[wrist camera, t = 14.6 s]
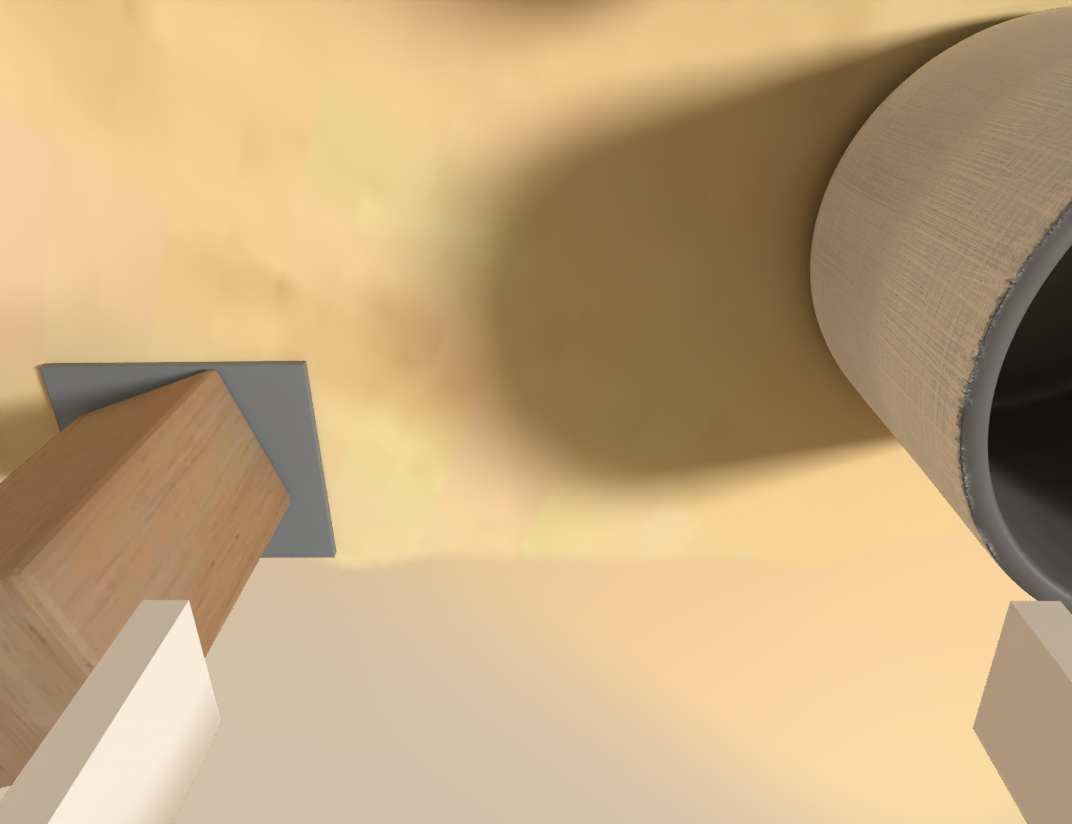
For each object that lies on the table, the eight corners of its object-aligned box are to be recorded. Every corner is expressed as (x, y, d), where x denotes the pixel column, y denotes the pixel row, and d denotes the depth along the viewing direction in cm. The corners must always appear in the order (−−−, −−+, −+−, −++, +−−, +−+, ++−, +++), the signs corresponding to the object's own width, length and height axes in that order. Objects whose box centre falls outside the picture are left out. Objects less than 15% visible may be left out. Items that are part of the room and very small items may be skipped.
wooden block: (163, 540, 55) (-32, 801, 37) (77, 414, 50) (-190, 638, 33) (296, 499, 53) (159, 751, 35) (218, 364, 49) (17, 572, 31)
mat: (45, 363, 50) (39, 367, 49) (305, 361, 49) (302, 365, 49) (104, 552, 56) (100, 557, 55) (336, 551, 55) (333, 557, 55)
